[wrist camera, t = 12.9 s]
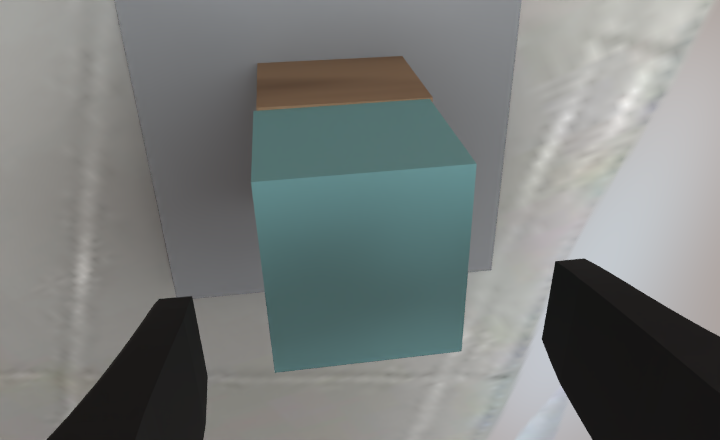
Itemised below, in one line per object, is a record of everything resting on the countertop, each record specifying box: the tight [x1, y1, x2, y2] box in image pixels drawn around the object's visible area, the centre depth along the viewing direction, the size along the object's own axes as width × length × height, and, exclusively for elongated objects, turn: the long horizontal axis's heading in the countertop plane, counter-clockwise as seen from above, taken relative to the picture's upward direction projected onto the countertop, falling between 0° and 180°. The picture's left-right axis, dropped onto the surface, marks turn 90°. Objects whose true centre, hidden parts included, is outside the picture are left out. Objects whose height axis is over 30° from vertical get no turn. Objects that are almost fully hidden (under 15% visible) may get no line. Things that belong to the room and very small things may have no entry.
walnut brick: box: [256, 56, 433, 111], centre depth 18 cm, size 5×4×4 cm
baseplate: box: [114, 0, 521, 299], centre depth 21 cm, size 12×12×1 cm
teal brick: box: [251, 99, 477, 373], centre depth 15 cm, size 5×4×4 cm
